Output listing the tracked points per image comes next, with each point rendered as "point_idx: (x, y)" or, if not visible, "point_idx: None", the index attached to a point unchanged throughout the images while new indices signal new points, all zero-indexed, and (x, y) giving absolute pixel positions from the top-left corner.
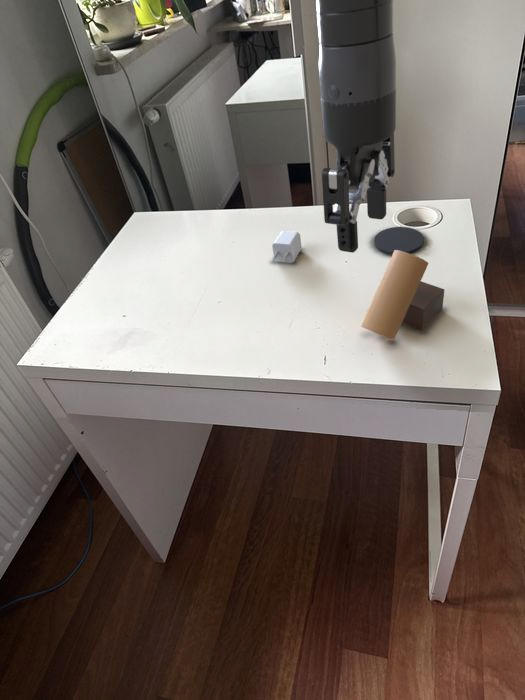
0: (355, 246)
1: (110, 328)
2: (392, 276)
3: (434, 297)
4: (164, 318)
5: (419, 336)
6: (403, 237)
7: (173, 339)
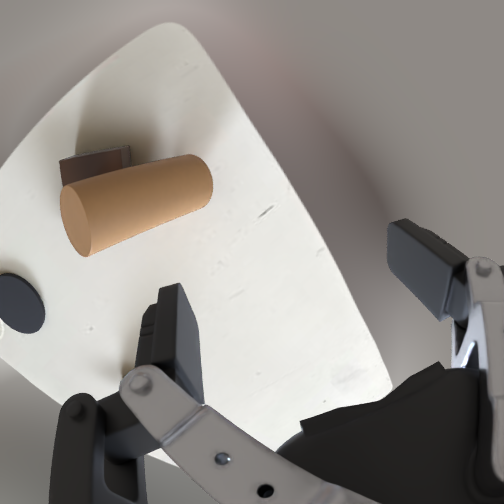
0: (414, 223)
1: (342, 394)
2: (136, 213)
3: (84, 157)
4: (309, 383)
5: (141, 140)
6: (9, 303)
7: (329, 355)
